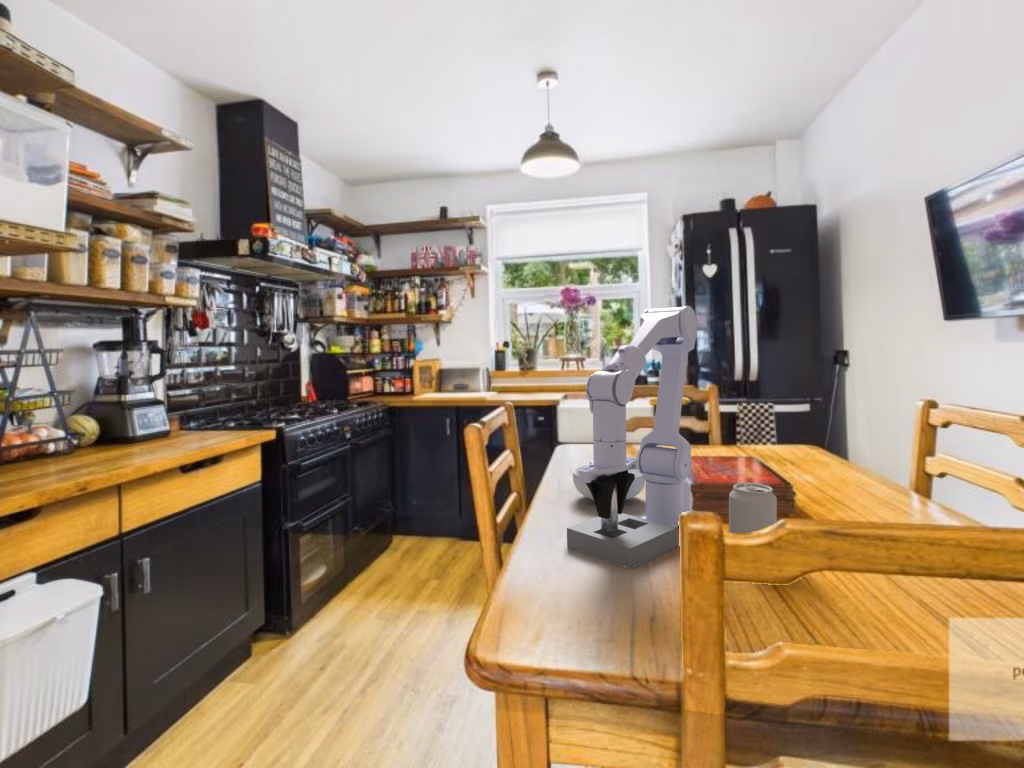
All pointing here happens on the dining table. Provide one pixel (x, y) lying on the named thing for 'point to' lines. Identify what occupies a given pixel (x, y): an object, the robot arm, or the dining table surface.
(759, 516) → the can
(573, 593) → the dining table surface
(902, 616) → the dining table surface
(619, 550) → the hole block
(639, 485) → the cereal bowl
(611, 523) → the pin
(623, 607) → the dining table surface
